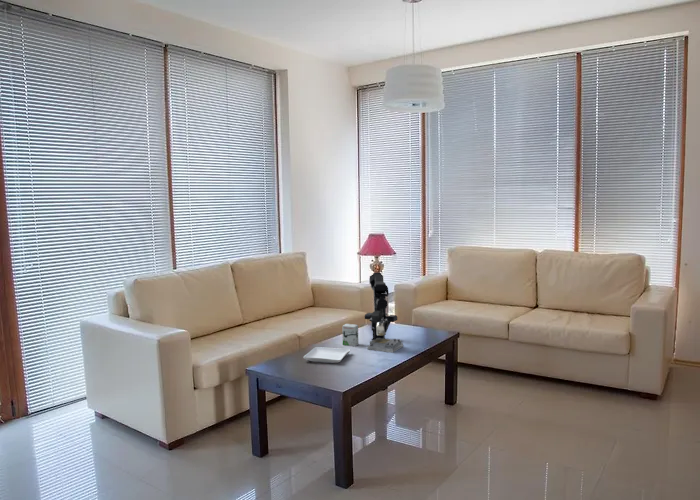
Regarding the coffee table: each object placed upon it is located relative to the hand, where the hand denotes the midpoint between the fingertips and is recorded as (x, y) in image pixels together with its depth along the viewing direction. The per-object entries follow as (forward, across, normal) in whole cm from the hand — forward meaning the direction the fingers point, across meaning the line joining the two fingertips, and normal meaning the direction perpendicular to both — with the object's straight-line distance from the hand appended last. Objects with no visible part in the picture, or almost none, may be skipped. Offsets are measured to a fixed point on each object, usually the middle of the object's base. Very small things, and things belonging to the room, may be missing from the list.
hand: (381, 331), depth 313 cm
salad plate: (+10, -17, -31) cm, 37 cm away
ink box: (+10, -19, -2) cm, 22 cm away
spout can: (+2, 0, 0) cm, 2 cm away
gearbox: (+9, +3, 0) cm, 10 cm away
